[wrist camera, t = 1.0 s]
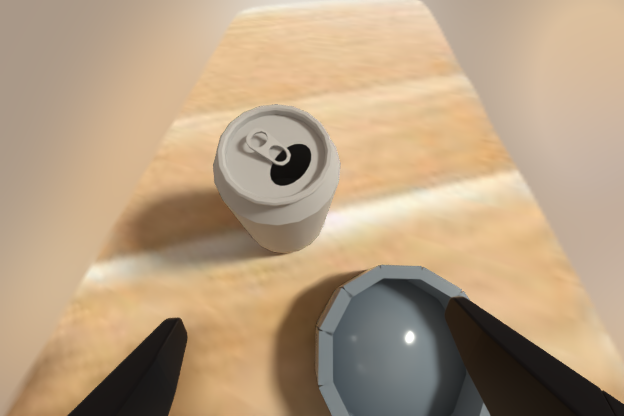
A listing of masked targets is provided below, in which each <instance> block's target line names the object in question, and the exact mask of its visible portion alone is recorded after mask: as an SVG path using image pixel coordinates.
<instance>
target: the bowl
mask: <svg viewBox="0 0 624 416" xmlns="http://www.w3.org/2000/svg"><path fill="white" fill-rule="evenodd" d="M457 296H463V297H465V298H467V299H468V300H469V298H468V297H467V295H466V294H465V292H464V291H462V289H460V288H458V287H457V286H455V285H453V284H452V283H450V282H448V281H447V280H445V279H443V278H442V277H440V276H438V275H436V274H435V273H433V272H431V271H430V270H428V269H426V268H425V267H421V266H398V265H379V266H376V267H373V268H371V269H368V270H366V271H364V272H363V273H361V274H359V275H357V276H356V277H354V278H352V279H351V280H349V281H347V282H345V283H344V284H342V285H340V286H339V287H337V289H335V290H334V292H333V294H332V296H331V298H330V300H329V301H328V303H327V305H326V307H325V309H324V311H323V312H322V314H321V316H320V318H319V320H318V321H317V323H316V324H317V325H318V326H316V342H315V373H316V377H317V382H318V386H319V389H320V391H321V394H322V396H323V398H324V400H325V402H326V404H327V406H328V408H329V411H330V413H331V415H332V416H490V414H489V412H488V410H487V408H486V406H485V404H484V402H483V400H482V398H481V396H480V395H479V393H478V391H477V389H476V387H475V385H474V383H473V381H472V379H471V377H470V375H469V373H468V371H467V369H466V367H465V365H464V363H463V361H462V359H461V356H460V354H459V351H458V349H457V347H456V344H455V342H454V339H453V337H452V335H451V332H450V330H449V327H448V325H447V322H446V320H445V315H444V314H445V310H446V307H447V304H448V302H449V299H450V298H451V297H457Z"/></svg>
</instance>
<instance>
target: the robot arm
mask: <svg viewBox="0 0 624 416" xmlns="http://www.w3.org/2000/svg"><path fill="white" fill-rule="evenodd" d="M444 315H445V320H446V322H447V325H448V327H449V330H450V332H451V335H452V337H453V339H454V342H455V344H456V347H457V349H458V351H459V354H460V356H461V359H462V361H463V363H464V365H465V367H466V369H467V371H468V373H469V375H470V377H471V379H472V381H473V383H474V385H475V387H476V389H477V391H478V393H479V395H480V396H481V398H482V400H483V402H484V404H485V406H486V408H487V410H488V412H489V414H490V416H624V404H623V403H621V402H620V401H618V400H617V399H615V398H614V397H612V396H611V395H609V394H608V393H606V392H605V391H601V389H600V388H599V387H597V386H596V385H594V384H593V383H591V382H590V381H589V380H587V379H586V378H584V377H583V376H581V375H580V374H578V373H577V372H575V371H574V370H572V369H571V368H569V367H568V366H566V365H565V364H563V363H562V362H560V361H559V360H557V359H556V358H554V357H553V356H551V355H550V354H549V353H547V352H546V351H544V350H543V349H541V348H540V347H538V346H537V345H535V344H534V343H532V342H531V341H529V340H528V339H526V338H525V337H523V336H522V335H520V334H519V333H517V332H516V331H514V330H513V329H511V328H510V327H509V326H507V325H506V324H504V323H503V322H501V321H500V320H498V319H497V318H495V317H494V316H492V315H491V314H489V313H488V312H486V311H485V310H483V309H482V308H480V307H479V306H477V305H476V304H474V303H473V302H471V301H470V300H468V299H467V298H465V297H463V296H457V297H451V298H450V299H449V302H448V304H447V307H446V310H445V314H444ZM186 343H187V332H186V329H185V327H184V324H183V322H182V319H181V318H168V319H166V320H164V321H163V322H162V323H161V324H160V325H159V326H158V327H157V328H156V329H155V330H154V331H153V332H152V333H151V334H150V335H149V336H148V337H147V338H146V339H145V340H144V341H143V342H142V343H141V344H140V345H139V346H138V347H137V348H136V349H135V350H134V351H133V352H132V353H131V354H130V355H129V356H128V357H127V358H126V359H124V360H123V361H122V362H121V363H120V364H119V365H118V366H117V367H116V368H115V369H114V370H113V371H112V372H111V373H110V374H109V375H108V376H107V377H106V378H105V379H104V380H103V381H102V382H101V383H100V384H99V385H98V386H97V387H96V388H95V389H94V390H93V391H92V392H91V393H90V394H89V395H88V396H87V397H86V398H85V399H84V400H83V401H82V402H81V403H80V404H79V405H78V406H77V407H76V408H75V409H74V410H73V411H72V412H71V413H70V414H69V415H68V416H168V414H169V411H170V408H171V405H172V402H173V399H174V395H175V392H176V388H177V384H178V379H179V375H180V370H181V366H182V361H183V357H184V352H185V348H186Z"/></svg>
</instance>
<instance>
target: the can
mask: <svg viewBox="0 0 624 416" xmlns="http://www.w3.org/2000/svg"><path fill="white" fill-rule="evenodd" d="M213 171H214V183H215V185H216V187H217V189H218V191H219V193H220V195H221V198H222V200H223V201H224V202H225V204H226V205H227V206H228V207H229V209H230V210H231V211H232V212H233V214H234V215H235V216H236V218H237V219H238V220H239V221H240V223H241V224H242V225H243V226H244V228H245V229H246V230H247V231H248V233H249V234H250V235H251V237H252V238H253V239H254V240H255V241H256V242H257V243H258V244H259V245H260V246H262V247H264V248H266V249H268V250H270V251H272V252H279V253H290V252H295V251H299V250H301V249H303V248H305V247H306V246H308V245H310V244H311V243H312V242H313V241H314V240H315V239H316V238H317V237H318V235H319V233H320V231H321V229H322V227H323V225H324V222H325V219H326V216H327V213H328V211H329V208H330V205H331V202H332V199H333V196H334V194H335V191H336V188H337V185H338V182H339V175H340V160H339V156H338V152H337V149H336V146H335V145H334V143H333V142H332V140H331V139H330V136H329V134H328V133H327V131H326V130H325V128H324V127H323V125H322V124H321V123H320V122H319V121H318V120H317V119H315V118H314V117H313V116H312V115H310V114H309V113H308V112H305V111H303V110H300V109H298V108H295V107H293V106H286V105H278V104H274V105H266V106H259V107H256V108H254V109H251V110H249V111H246V112H244V113H242V114H241V115H240V116H238V117H237V118H236V119H234V120H233V121H232V122H230V124H229V125H228V126H227V128H226V129H225V131H224V132H223V134H222V135H221V137H220V140H219V144H218V148H217V151H216V156H215V160H214V163H213Z"/></svg>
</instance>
